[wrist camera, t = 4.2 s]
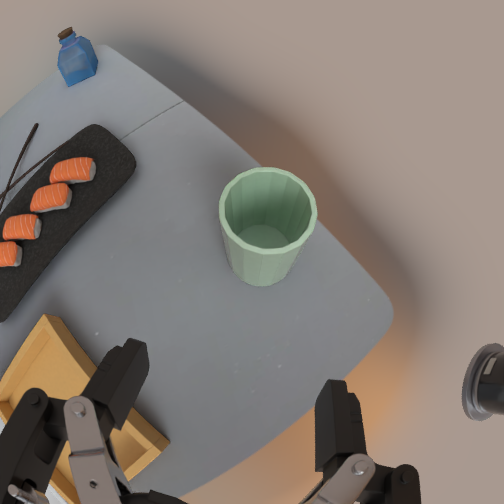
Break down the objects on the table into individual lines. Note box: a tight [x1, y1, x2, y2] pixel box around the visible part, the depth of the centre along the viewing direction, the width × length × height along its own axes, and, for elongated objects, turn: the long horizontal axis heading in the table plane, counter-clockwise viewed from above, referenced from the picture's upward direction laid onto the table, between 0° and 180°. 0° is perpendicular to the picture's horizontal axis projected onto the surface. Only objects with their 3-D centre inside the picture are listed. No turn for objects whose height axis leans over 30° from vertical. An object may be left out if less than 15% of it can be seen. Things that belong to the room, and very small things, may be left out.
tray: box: [0, 314, 170, 504], centre depth 20 cm, size 18×17×3 cm
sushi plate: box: [0, 123, 136, 323], centre depth 29 cm, size 29×30×4 cm
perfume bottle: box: [58, 27, 98, 87], centre depth 34 cm, size 6×6×12 cm
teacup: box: [219, 167, 318, 286], centre depth 23 cm, size 7×7×10 cm
